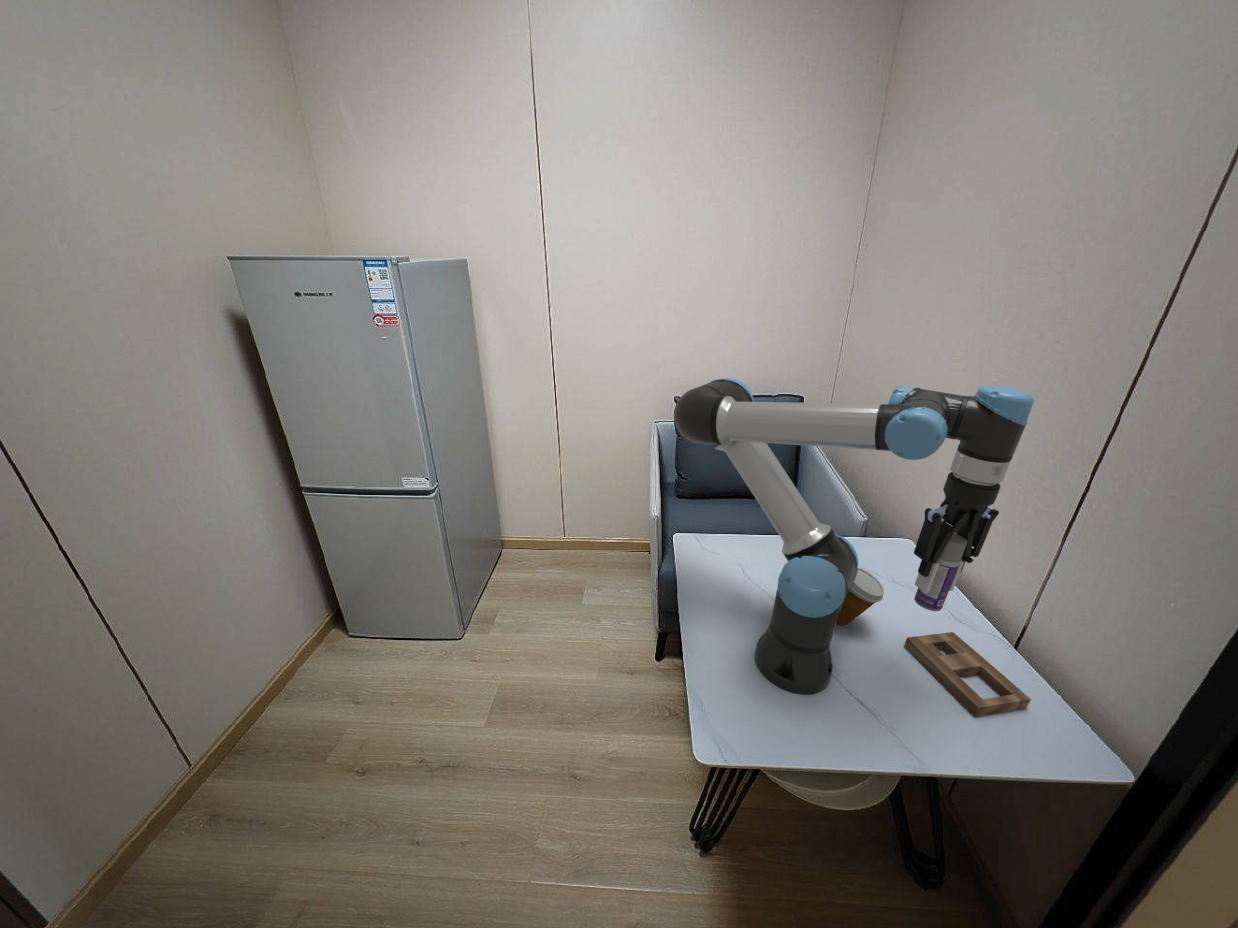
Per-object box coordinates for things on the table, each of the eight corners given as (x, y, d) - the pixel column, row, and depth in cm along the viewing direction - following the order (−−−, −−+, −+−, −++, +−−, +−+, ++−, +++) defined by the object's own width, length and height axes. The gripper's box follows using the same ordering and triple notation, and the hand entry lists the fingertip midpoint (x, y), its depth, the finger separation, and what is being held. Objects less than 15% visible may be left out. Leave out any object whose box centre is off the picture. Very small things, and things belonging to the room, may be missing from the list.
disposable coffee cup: (819, 620, 108) (849, 585, 102) (815, 592, 116) (842, 558, 110) (858, 638, 107) (891, 604, 101) (851, 608, 115) (880, 575, 109)
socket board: (974, 717, 88) (978, 707, 87) (903, 646, 104) (907, 637, 103) (1026, 708, 90) (1031, 699, 89) (949, 640, 106) (953, 631, 105)
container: (934, 596, 93) (958, 531, 87) (947, 612, 89) (973, 545, 83) (909, 594, 93) (932, 529, 88) (921, 610, 89) (946, 543, 83)
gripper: (949, 489, 75) (908, 604, 85) (1038, 484, 79) (989, 595, 88) (914, 470, 82) (879, 579, 91) (997, 466, 86) (956, 572, 95)
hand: (933, 587), depth 90 cm, fingers closed on container, 5 cm apart
